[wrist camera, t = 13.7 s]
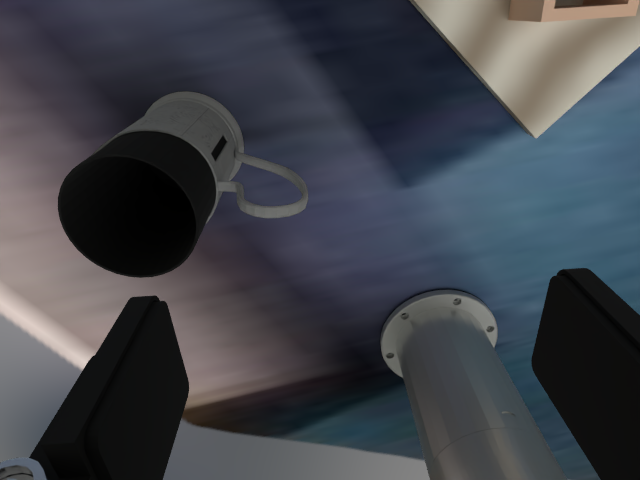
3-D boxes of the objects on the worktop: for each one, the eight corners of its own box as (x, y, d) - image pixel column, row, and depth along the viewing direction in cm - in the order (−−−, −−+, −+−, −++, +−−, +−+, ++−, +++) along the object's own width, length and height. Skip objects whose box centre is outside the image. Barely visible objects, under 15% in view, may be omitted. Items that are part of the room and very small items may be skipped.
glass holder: (131, 89, 35) (24, 139, 21) (308, 94, 35) (310, 146, 22) (148, 191, 39) (67, 285, 26) (306, 194, 39) (307, 288, 26)
